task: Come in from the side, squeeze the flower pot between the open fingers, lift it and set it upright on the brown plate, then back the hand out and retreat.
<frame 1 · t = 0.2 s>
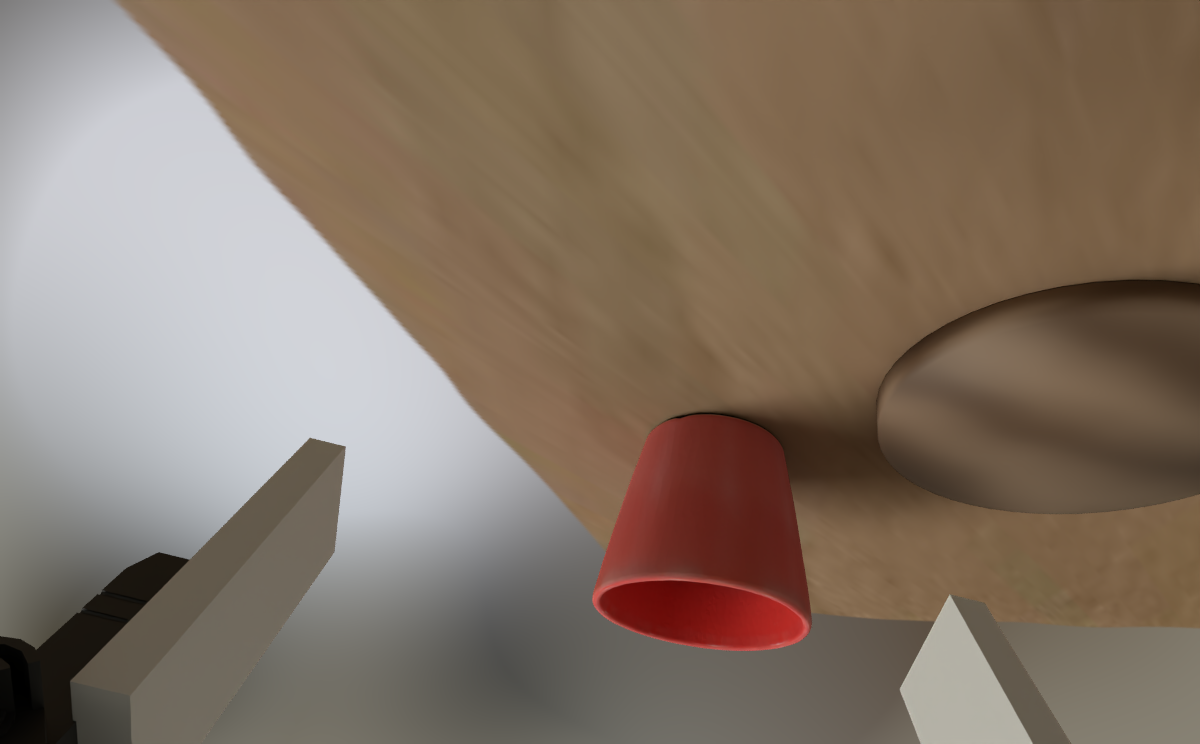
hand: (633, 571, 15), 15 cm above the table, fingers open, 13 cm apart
brown plate: (1068, 403, 32), on the table
flower pot: (716, 445, 41), on the table
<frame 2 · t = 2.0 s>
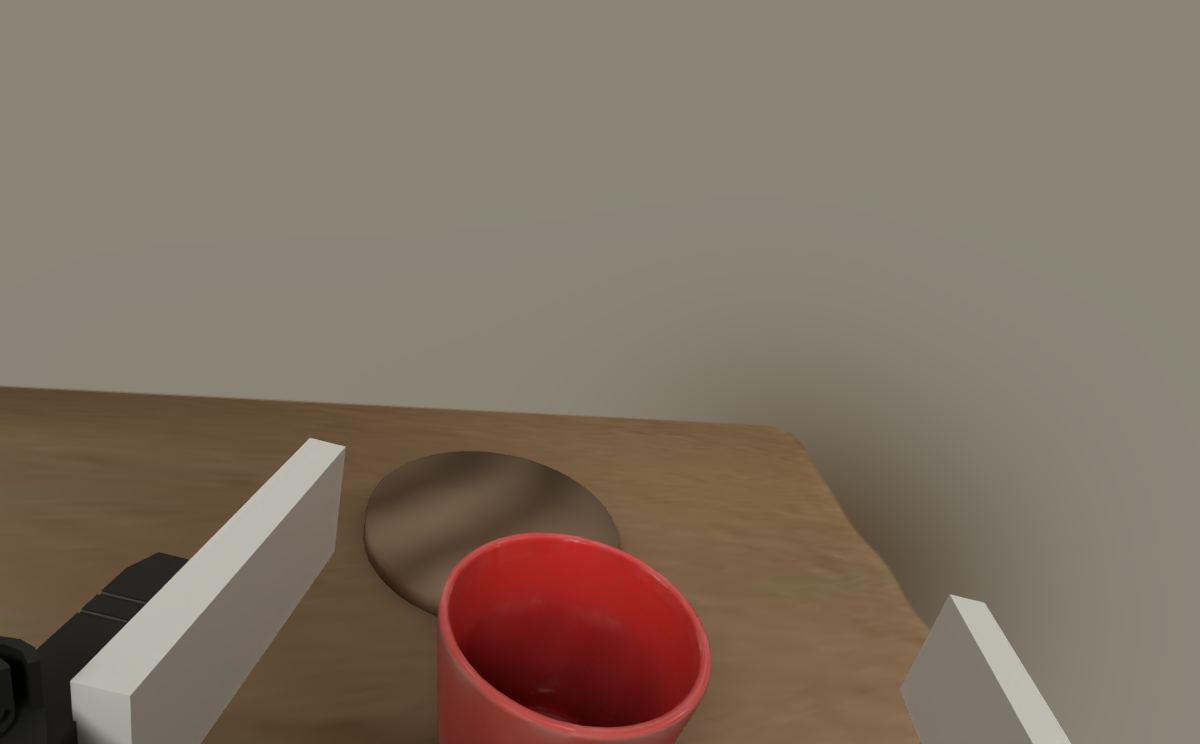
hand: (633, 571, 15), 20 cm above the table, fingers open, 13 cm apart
brown plate: (493, 537, 47), on the table
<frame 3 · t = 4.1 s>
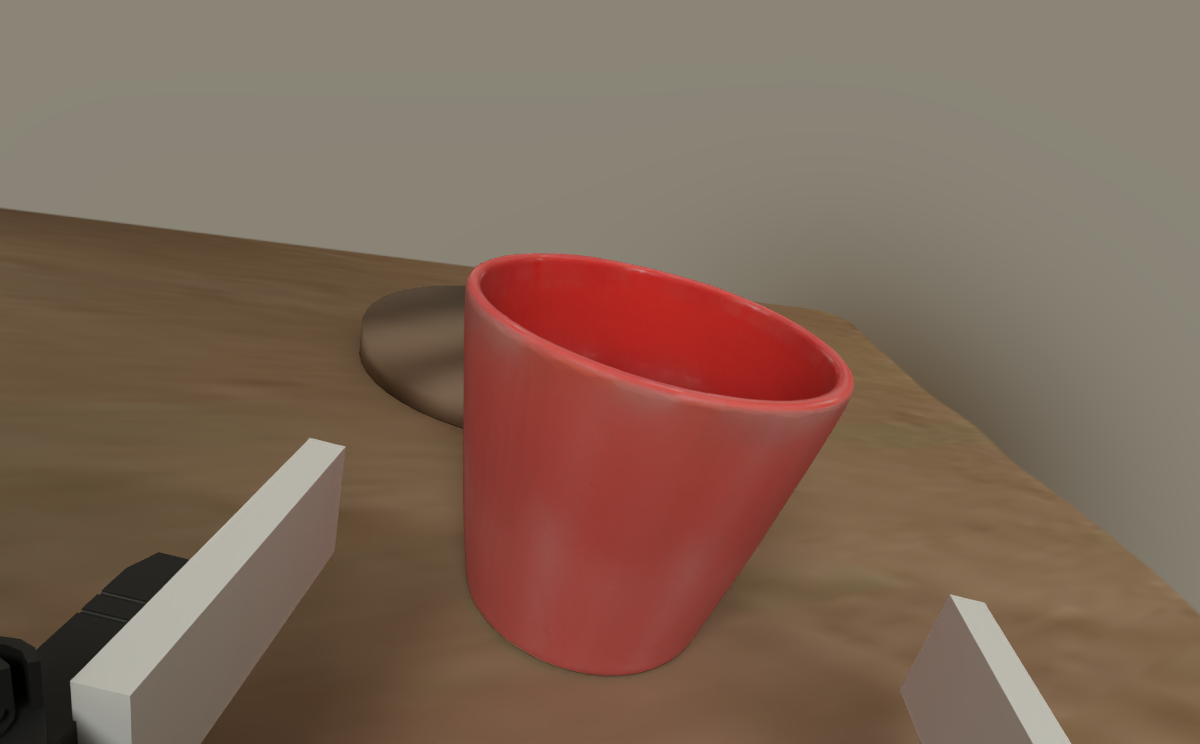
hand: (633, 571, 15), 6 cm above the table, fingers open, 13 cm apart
brown plate: (516, 365, 39), on the table
flower pot: (583, 590, 24), on the table
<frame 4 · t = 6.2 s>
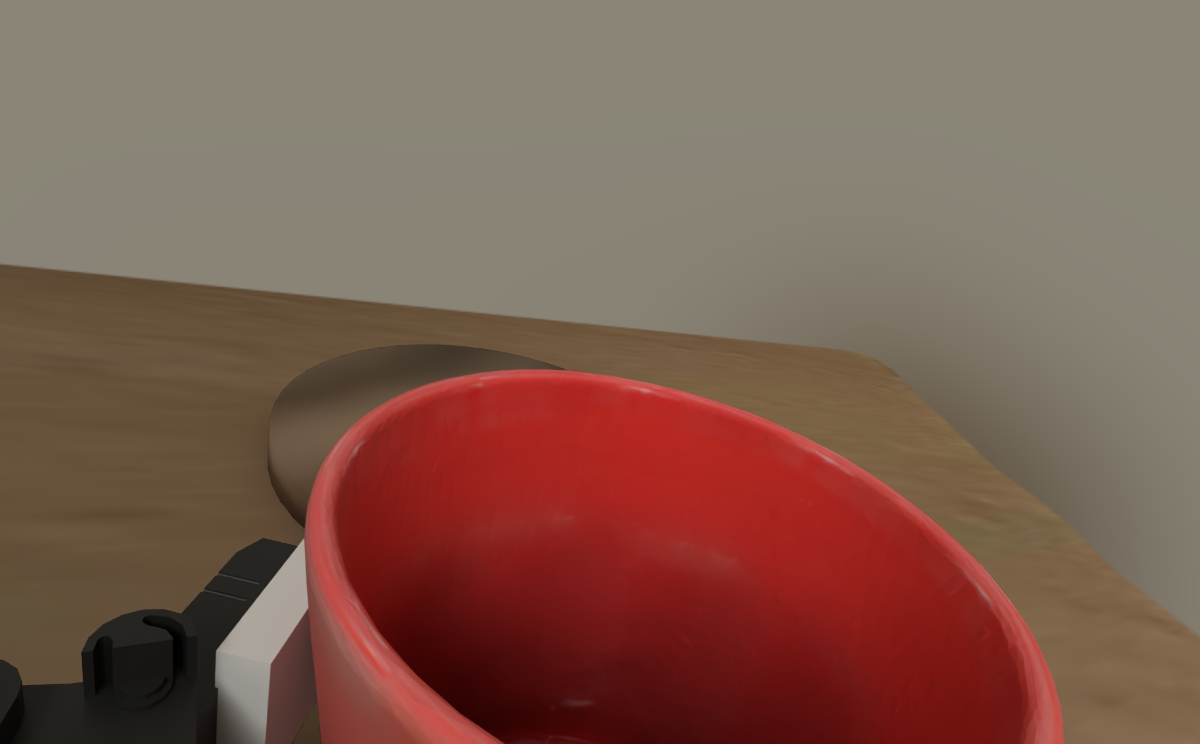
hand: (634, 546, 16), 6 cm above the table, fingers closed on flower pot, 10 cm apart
brown plate: (482, 458, 30), on the table
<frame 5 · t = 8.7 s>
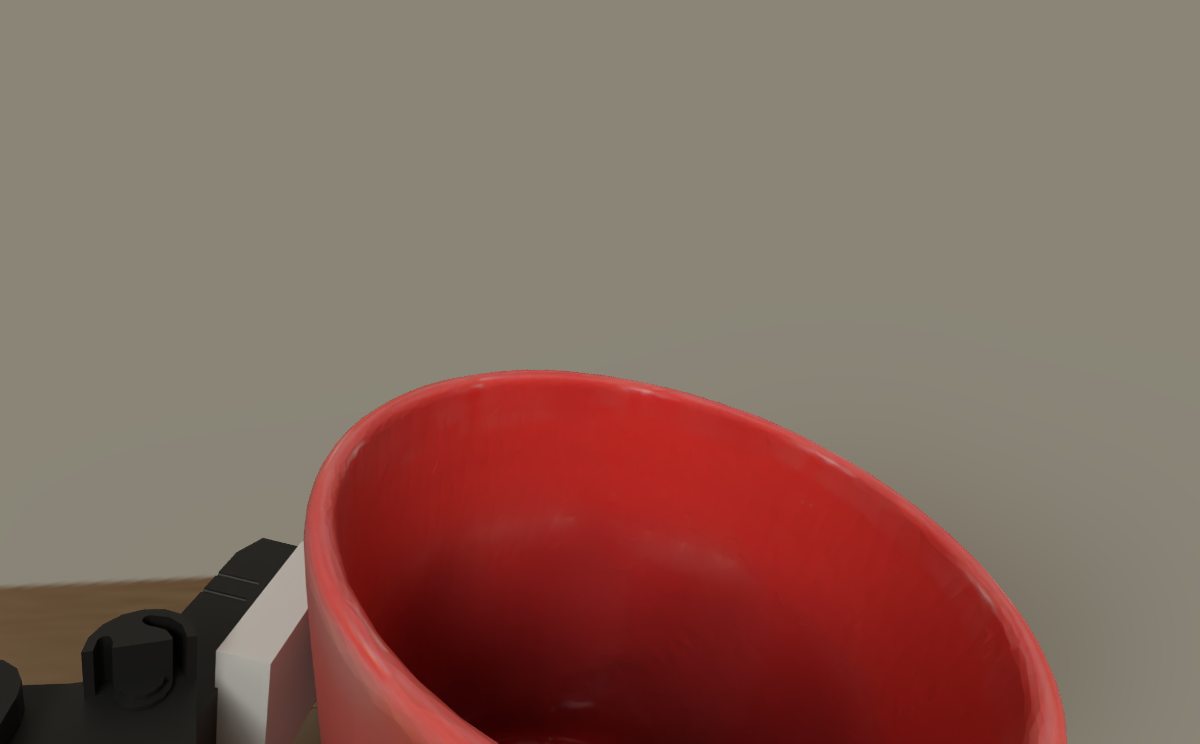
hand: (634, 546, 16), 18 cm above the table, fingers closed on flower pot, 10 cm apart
when the fingers open (9 cm above the table, at t = 11.4 s): flower pot drops 1 cm, resting on brown plate.
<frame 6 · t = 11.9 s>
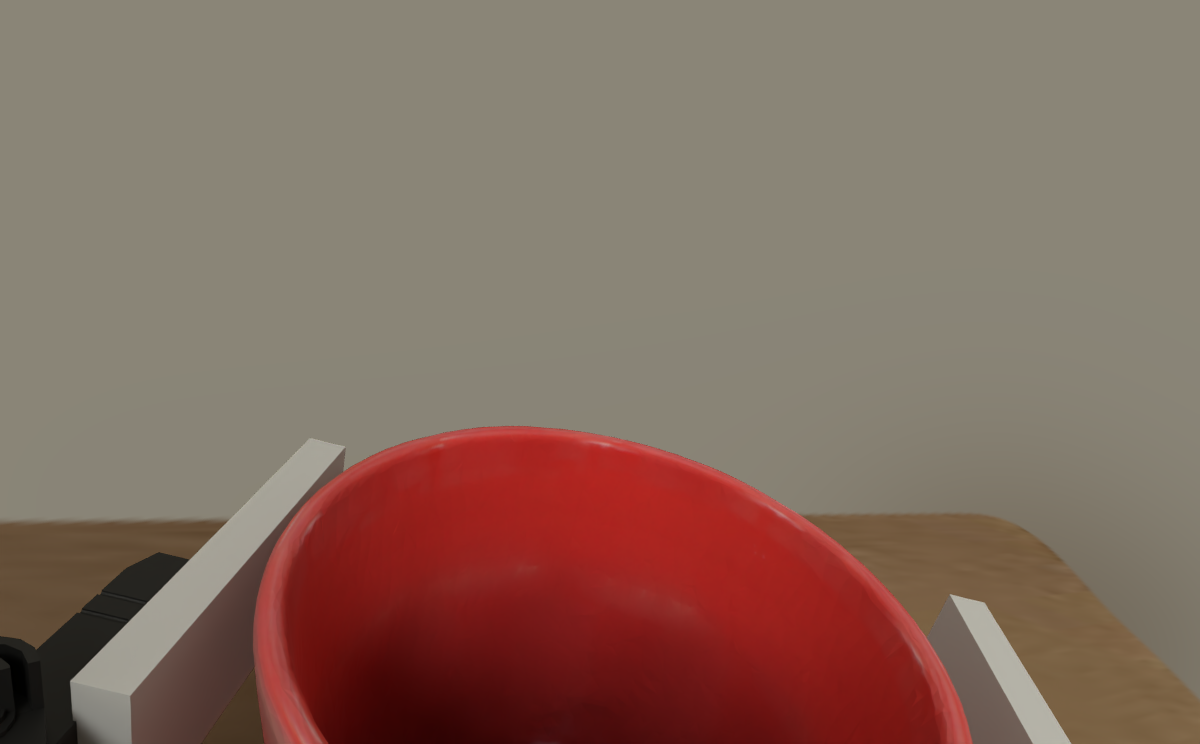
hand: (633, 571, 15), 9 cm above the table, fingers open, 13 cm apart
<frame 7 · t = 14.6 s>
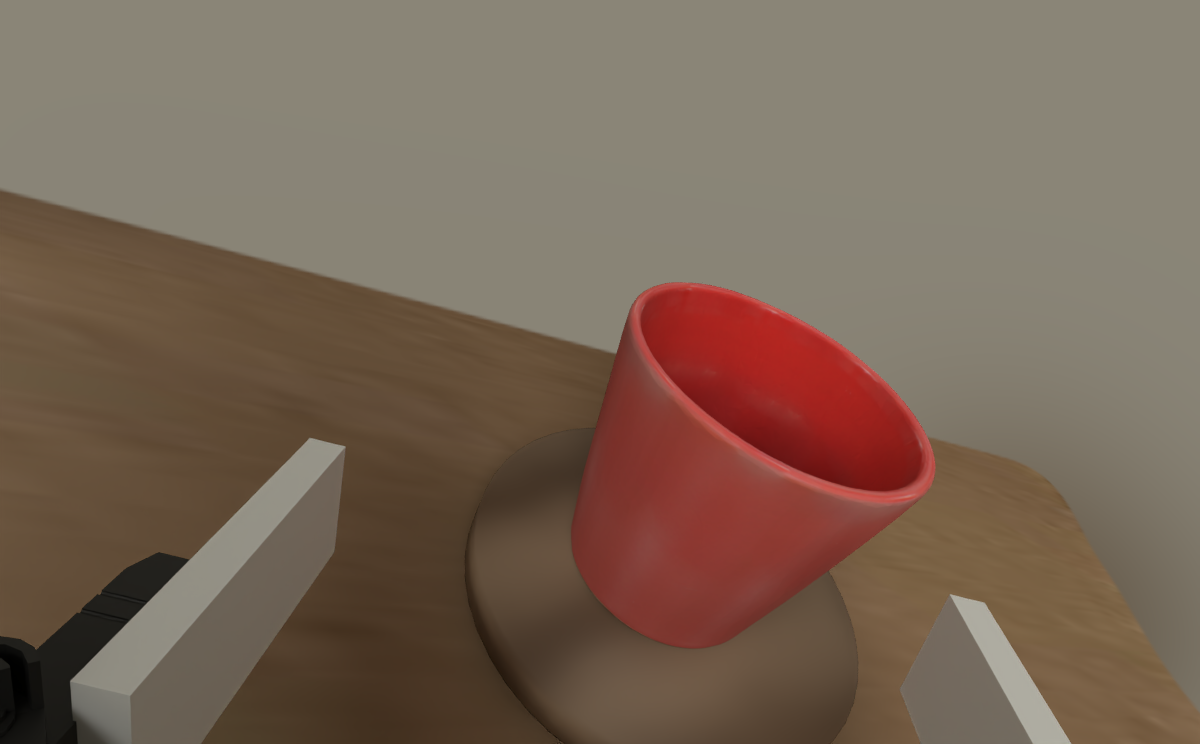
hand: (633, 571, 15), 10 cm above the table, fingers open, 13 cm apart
brown plate: (658, 590, 29), on the table
flower pot: (659, 565, 29), point 1 cm above the table, touching brown plate
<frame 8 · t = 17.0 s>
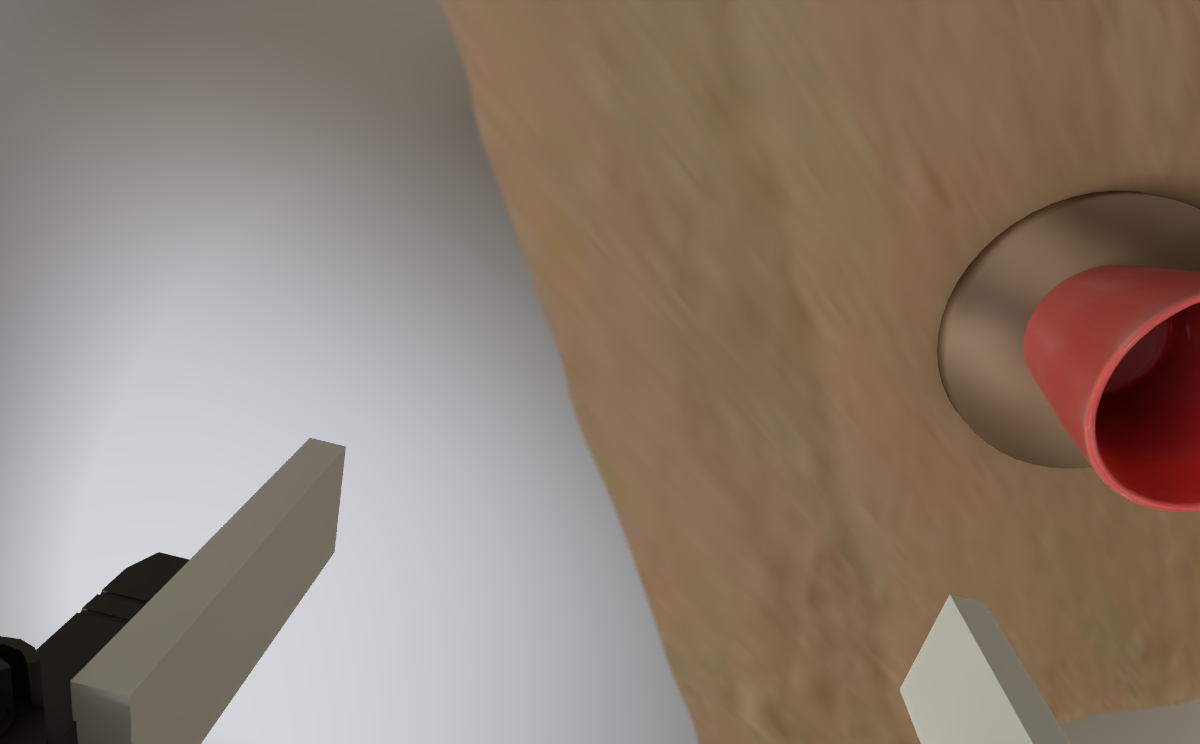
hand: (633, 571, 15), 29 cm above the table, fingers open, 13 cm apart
brown plate: (1082, 333, 42), on the table
flower pot: (1094, 331, 40), point 1 cm above the table, touching brown plate
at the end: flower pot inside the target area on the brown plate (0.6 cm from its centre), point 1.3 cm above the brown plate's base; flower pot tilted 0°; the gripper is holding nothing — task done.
